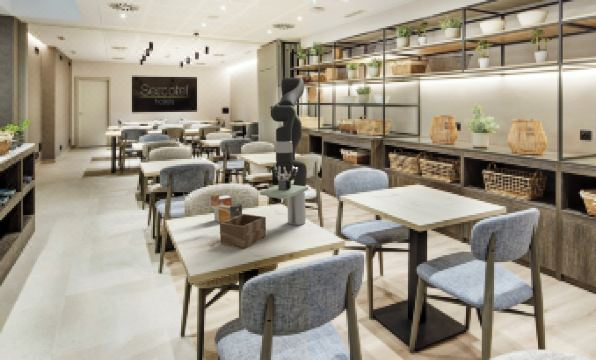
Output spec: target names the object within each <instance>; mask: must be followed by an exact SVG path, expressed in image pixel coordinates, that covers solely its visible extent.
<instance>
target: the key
mask: <svg viewBox="0 0 596 360" xmlns="http://www.w3.org/2000/svg"><path fill="white" fill-rule="evenodd" d="M219 196H220V194H216V193H215V194H211V195H210V209H213V210H214V209H219V210H226V211H230V206H225V205H220V202H219ZM236 211H239V208H236Z"/></svg>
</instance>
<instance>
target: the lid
mask: <svg viewBox="0 0 596 360" xmlns="http://www.w3.org/2000/svg"><path fill="white" fill-rule="evenodd" d="M277 181H278V185H276V186H273V187H272V186H271V187H270V188H267V189H264V190H262V191H259V193H260V194H259V195H260V196H265V197H267V198H275V199H284V200H288V198H290V197H292V196H295V195H297V194H299V193H302V192H304V191H305V192H306V191H309V186H307V185H306V186H298V185H292V184H291V188H290V189H288V190H287V189H286V182H287V181H286V177H283V179H281V180H278V179H277Z"/></svg>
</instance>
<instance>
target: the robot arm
mask: <svg viewBox="0 0 596 360" xmlns="http://www.w3.org/2000/svg"><path fill="white" fill-rule="evenodd" d="M280 85H281V86H280V87H281V88H280V89H281V99H280V101H278V102H277V103H275V105H273V107H272V109H271V112H270V115H271V116H270V117H271V119H272V120H273V121H275V122H277V123H278V122H279V123H283V126H280V127H277V128H276V130H275V164H274V165H272V166H270V169H271V173H272V174H273V177H274V179H275V180H277V181H278V180H281V179H284V178H286V181H287V182H286V189H287V190H288V189H290V188H291V185H298V186H307V177H308V175H307V173H308V170H307V164H306V163H305V162H304V161H299V160H296V151H297V147H298V146H299V143H300V142H301V139H302V136H303V127H302V124H303V123H302V120H301V118H300V117H299V116H298V114H297V111H296V109H295V106H296V104H297V102H298V101H299V100H300V99H301V97H302V96H303V94H304V91H305V82H304V80H303V78H301V77H299V76H297V77H283V78H282V80H281V84H280ZM292 181H293V183H292ZM306 221H307V220H306V191H304V192H302V193H299V194H297V195H295V196H292V197H290V198H287V224H289V225H291V226H300V225H304V224H305V223H306Z"/></svg>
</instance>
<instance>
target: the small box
mask: <svg viewBox="0 0 596 360" xmlns="http://www.w3.org/2000/svg"><path fill="white" fill-rule="evenodd" d="M232 200H233V199H232V196H230V195H227V194H226V195H219V202H220V205H225V206H233V201H232ZM213 212H214V213H213V214H214V221H215V222H218V223H222V222H224V221H227V220H229V219H230V211H226V210H219V209H213Z"/></svg>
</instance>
